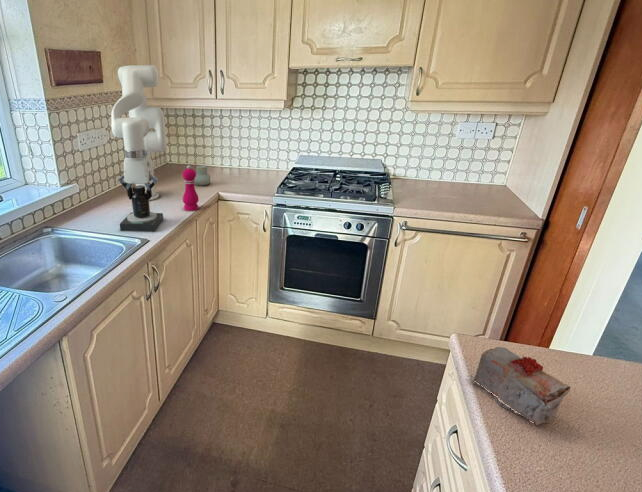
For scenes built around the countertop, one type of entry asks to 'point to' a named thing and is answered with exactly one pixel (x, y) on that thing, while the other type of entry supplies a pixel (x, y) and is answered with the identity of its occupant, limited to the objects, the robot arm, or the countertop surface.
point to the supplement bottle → (140, 202)
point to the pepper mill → (190, 190)
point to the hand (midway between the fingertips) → (140, 198)
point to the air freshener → (202, 176)
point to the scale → (141, 222)
